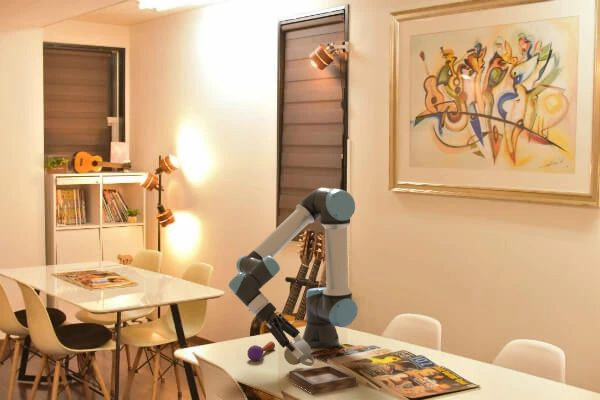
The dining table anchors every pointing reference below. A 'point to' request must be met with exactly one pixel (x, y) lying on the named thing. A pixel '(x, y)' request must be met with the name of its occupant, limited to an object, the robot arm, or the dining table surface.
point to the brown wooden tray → (322, 379)
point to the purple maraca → (259, 351)
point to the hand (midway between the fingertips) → (304, 353)
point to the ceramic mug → (306, 355)
